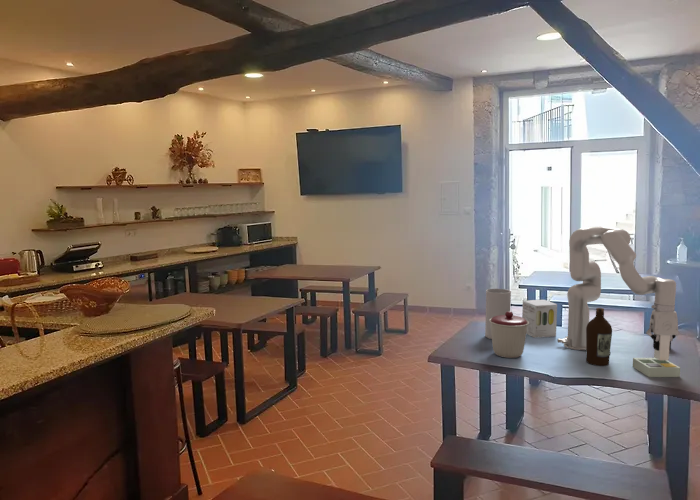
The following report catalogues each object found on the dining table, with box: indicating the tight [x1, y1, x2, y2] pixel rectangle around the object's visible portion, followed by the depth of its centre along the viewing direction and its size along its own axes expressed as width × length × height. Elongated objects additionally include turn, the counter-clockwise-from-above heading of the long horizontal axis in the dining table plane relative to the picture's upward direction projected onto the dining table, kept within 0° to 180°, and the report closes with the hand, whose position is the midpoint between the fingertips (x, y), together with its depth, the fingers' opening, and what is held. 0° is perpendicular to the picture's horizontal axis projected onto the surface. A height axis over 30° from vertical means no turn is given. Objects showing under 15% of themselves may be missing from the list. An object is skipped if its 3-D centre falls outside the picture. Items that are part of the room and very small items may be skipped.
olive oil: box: [585, 307, 613, 367], centre depth 241 cm, size 11×11×25 cm
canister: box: [489, 310, 529, 359], centre depth 253 cm, size 18×18×21 cm
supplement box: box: [521, 299, 558, 339], centre depth 289 cm, size 13×13×18 cm
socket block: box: [632, 357, 681, 378], centre depth 230 cm, size 13×13×4 cm
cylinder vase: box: [484, 288, 512, 340], centre depth 283 cm, size 12×12×25 cm
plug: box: [653, 335, 670, 361], centre depth 231 cm, size 4×4×14 cm
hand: (661, 349), depth 231 cm, fingers closed on plug, 4 cm apart
